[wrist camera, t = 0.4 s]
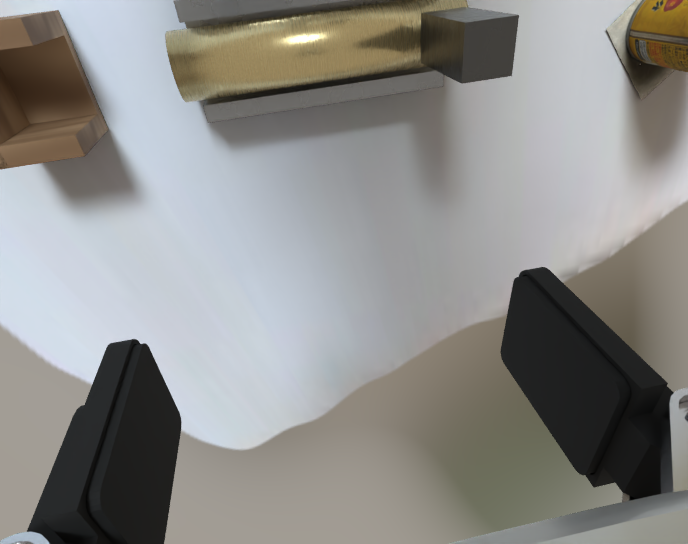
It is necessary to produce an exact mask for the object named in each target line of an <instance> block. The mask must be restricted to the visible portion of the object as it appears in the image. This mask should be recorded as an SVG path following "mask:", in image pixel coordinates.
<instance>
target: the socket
mask: <svg viewBox="0 0 688 544" xmlns="http://www.w3.org/2000/svg"><path fill="white" fill-rule="evenodd" d="M107 131H108V128H107V125H106V123H105V120H104V118H103V116H102V113H101V111H100V109H99V106H98V104H97V101H96V99H95V97H94V94H93V92H92V90H91V87H90V85H89V82H88V80H87V78H86V75H85V73H84V71H83V68H82V66H81V63H80V61H79V59H78V56H77V54H76V52H75V49H74V47H73V44H72V42H71V40H70V37H69V35H68V33H67V30H66V28H65V25H64V23H63V21H62V18H61V16H60V14H59V11H58V10H57V11H49V12H41V13H33V14H25V15H17V16H9V17H1V18H0V169H6V168H12V167H19V166H25V165H31V164H38V163H44V162H50V161H57V160H63V159H69V158H76V157H82V156H85V155H86V154H87V153H88V152H89V151H90V150H91V149H92V148H93V146H94V145H95V144H96V143H97V142H98V141H99V140H100V139H101V137H102V136H103V135H104V134H105V133H106V132H107Z"/></svg>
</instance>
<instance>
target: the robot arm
mask: <svg viewBox="0 0 688 544" xmlns="http://www.w3.org/2000/svg"><path fill="white" fill-rule="evenodd" d="M501 357H502V360H503V362H504V364H505V366H506V367H507V369H508V370H509V371H510V373H511V375H512V376H513V378H514V379H515V381H516V382H517V383H518V385H519V386H520V388H521V389H522V391H523V392H524V394H525V395H526V397H527V398H528V400H529V401H530V403H531V404H532V406H533V407H534V409H535V410H536V412H537V413H538V415H539V416H540V418H541V419H542V421H543V422H544V424H545V425H546V427H547V428H548V430H549V431H550V433H551V434H552V436H553V437H554V439H555V440H556V442H557V443H558V444H559V446H560V448H561V449H562V450H563V452H564V453H565V455H566V456H567V458H568V459H569V461H570V462H571V464H572V465H573V467H574V468H575V470H576V471H577V472H578V473H579V474H581V475H586V477H587V478H588V480H589V481H590V483H591V484H592V486H593V487H597V486H602V485H606V484H610V483H614V482H615V483H616V484H617V485H618V487H619V488H620V489H621V491H622V492H623V496H622V503H617V504H613V505H608V506H603V507H599V508H594V509H590V510H586V511H581V512H577V513H573V514H569V515H565V516H560V517H557V518H552V519H548V520H544V521H540V522H536V523H532V524H527V525H523V526H519V527H515V528H510V529H506V530H502V531H498V532H494V533H490V534H485V535H481V536H477V537H473V538H469V539H465V540H461V541H457V542H453V543H449V544H688V388H684V389H680V390H677V391H676V392H675V393H673V392H672V391H671V390H670V389H669V388H668V387H667V384H668V383H667V382H666V381H665V380H664V379H663V378H662V377H661V376H660V375H659V374H657V373H656V372H655V371H654V370H653V369H652V368H651V367H650V366H649V365H648V364H647V363H646V362H645V361H644V360H643V359H642V358H641V357H640V356H639V355H637V353H635V352H634V351H633V350H632V349H631V348H630V347H629V346H628V345H627V344H626V343H625V342H624V341H623V340H622V339H621V338H620V337H619V336H618V335H617V334H615V332H613V330H611V329H610V328H609V327H608V326H607V325H606V324H605V323H604V322H603V321H602V320H601V319H600V318H599V317H598V316H597V315H596V314H595V313H594V312H593V311H591V310H590V309H589V308H588V307H587V306H586V305H585V304H584V303H583V302H582V301H581V300H580V299H579V298H578V297H577V296H576V295H575V294H574V293H573V292H572V291H571V290H570V289H568V287H566V286H565V285H564V284H563V283H562V282H561V281H560V280H559V279H558V278H557V277H556V276H555V275H554V274H553V273H552V272H551V271H550V270H549V269H547V268H545V267H541V268H535V269H530V270H524V271H522V272H521V273H520V274H519V277H517V278H515V279H514V282H513V288H512V293H511V298H510V303H509V309H508V314H507V319H506V326H505V330H504V336H503V341H502V346H501ZM180 433H181V417H180V413H179V411H178V409H177V407H176V405H175V402H174V400H173V398H172V396H171V394H170V392H169V390H168V387H167V385H166V383H165V381H164V379H163V377H162V375H161V372H160V370H159V368H158V366H157V364H156V362H155V360H154V357H153V355H152V353H151V351H150V349H149V347H148V345H147V344H140V343H139V341H138V340H136V339H132V340H127V341H121V342H115V343H110V344H109V345H108V347H107V348H106V351H105V353H104V356H103V359H102V361H101V364H100V366H99V369H98V372H97V374H96V377H95V379H94V382H93V385H92V387H91V390H90V392H89V395H88V398H87V400H86V403H85V405H83V406H80V407H79V408H78V409H77V410H76V412H75V414H74V416H73V418H72V421H71V423H70V426H69V428H68V431H67V433H66V436H65V438H64V441H63V443H62V446H61V448H60V450H59V453H58V455H57V458H56V461H55V463H54V466H53V468H52V471H51V473H50V475H49V478H48V480H47V483H46V485H45V488H44V490H43V493H42V495H41V498H40V500H39V503H38V505H37V508H36V511H35V513H34V515H33V518H32V520H31V523H30V525H29V528H28V530H27V532H23V533H17V534H15V535H12V536H10V537H7V538H5V539H3V540H1V541H0V544H164V540H165V533H166V527H167V520H168V513H169V507H170V506H169V505H170V500H171V493H172V486H173V479H174V472H175V466H176V459H177V453H178V446H179V439H180Z"/></svg>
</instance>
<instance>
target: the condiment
mask: <svg viewBox="0 0 688 544" xmlns="http://www.w3.org/2000/svg"><path fill="white" fill-rule="evenodd" d="M607 31H608V33H609V36H610V38H611V40H612V42H613V44H614V47H615V48H616V50H617V53H618V55H619V57H620V59H621V61H622V63H623V65H624V66H625V69H626V70H627V72H628V73H629V76H630V78H631V80H632V83H633V85H634V87H635V89H636V90H637V92H638V94H639V96H640V98H641V100H643V99H644V98H645V97H646V96H647V95H648V94H649V93H650V92H651V91H652V90H653V89H654V88H655V87H656V86H658V85H659V84H660V83H661V82H662V81H663V80H664V79H665V78H666V77H667V76H668V75H670V74H671V73H672V72H673V71H674V70H679V71H685V72H688V0H636V1H635V2H634V3H633V4H632V5H631V6H629V7H628V9H627V10H626V11H624V13H623V14H622V15H621V16H620V17H619V18H618V19H617V20H616V21H614V22H613V23H612V24H611V25H610V26H609V27H608V28H607ZM640 63H641V65H639V64H640Z"/></svg>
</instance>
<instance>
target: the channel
mask: <svg viewBox="0 0 688 544" xmlns="http://www.w3.org/2000/svg"><path fill="white" fill-rule="evenodd" d="M390 1H398V0H174V4H175V8H176V11H177V15H178V18H179V22H180V23H181V22H185V24H186V28H187V29H189V28H196V27H204V26H211V25H218V24H226V23H233V22H241V21H248V20H256V19H263V18H271V17H278V16H286V15H293V14H301V13H308V12H316V11H323V10H331V9H338V8H345V7H353V6H360V5H368V4H375V3H383V2H390ZM443 77H444V74H442V73H440V72H438V71H436V70H434V69H432V68H430V67H428V66H426V67H420V68H413V69H406V70H400V71H393V72H386V73H380V74H373V75H366V76H360V77H353V78H346V79H340V80H333V81H326V82H320V83H313V84H306V85H300V86H293V87H286V88H280V89H273V90H266V91H260V92H253V93H246V94H240V95H233V96H226V97H219V98H213V99H206V100H205V102H204V105H203V107H204V110H205V114H206V117H207V121H208V123H211V122H217V121H224V120H230V119H236V118H243V117H249V116H256V115H262V114H269V113H275V112H282V111H288V110H295V109H301V108H307V107H314V106H320V105H327V104H333V103H340V102H346V101H353V100H359V99H366V98H372V97H378V96H385V95H391V94H398V93H404V92H411V91H417V90H424V89H430V88H437V87H443Z"/></svg>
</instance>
